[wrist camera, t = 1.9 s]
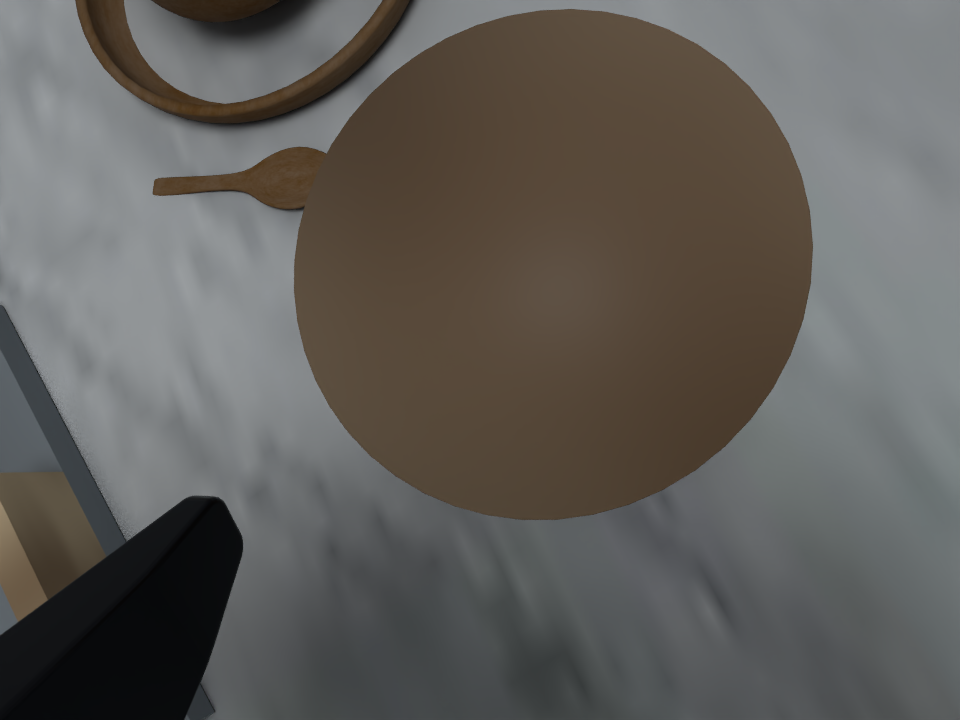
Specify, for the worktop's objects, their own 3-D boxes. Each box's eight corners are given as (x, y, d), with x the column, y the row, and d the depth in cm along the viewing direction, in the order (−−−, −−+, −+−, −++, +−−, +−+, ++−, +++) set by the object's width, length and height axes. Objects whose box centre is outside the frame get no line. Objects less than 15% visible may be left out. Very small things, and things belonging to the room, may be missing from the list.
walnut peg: (656, 518, 18) (621, 633, 6) (504, 421, 20) (210, 347, 7) (752, 360, 18) (926, 140, 6) (594, 274, 20) (455, -62, 7)
